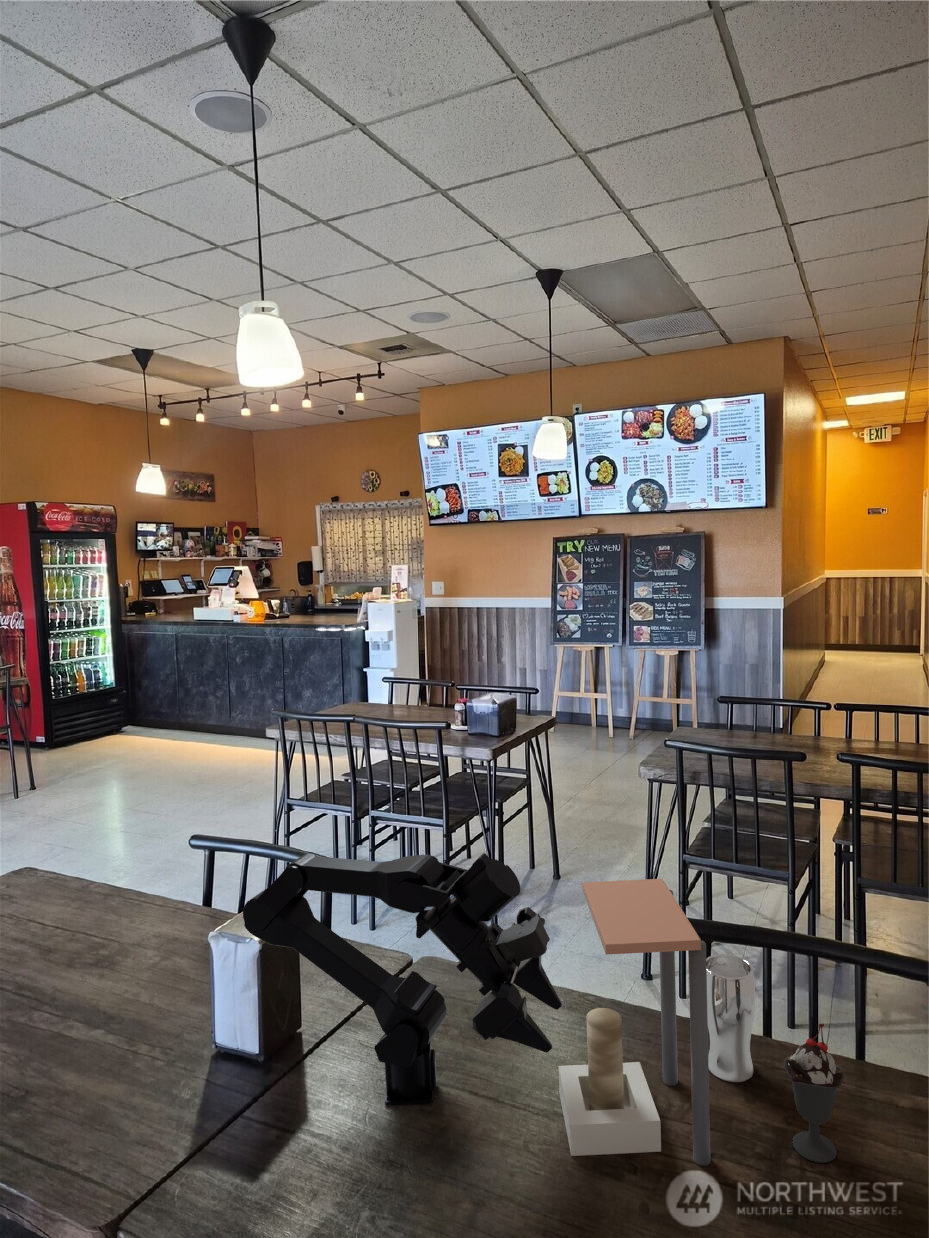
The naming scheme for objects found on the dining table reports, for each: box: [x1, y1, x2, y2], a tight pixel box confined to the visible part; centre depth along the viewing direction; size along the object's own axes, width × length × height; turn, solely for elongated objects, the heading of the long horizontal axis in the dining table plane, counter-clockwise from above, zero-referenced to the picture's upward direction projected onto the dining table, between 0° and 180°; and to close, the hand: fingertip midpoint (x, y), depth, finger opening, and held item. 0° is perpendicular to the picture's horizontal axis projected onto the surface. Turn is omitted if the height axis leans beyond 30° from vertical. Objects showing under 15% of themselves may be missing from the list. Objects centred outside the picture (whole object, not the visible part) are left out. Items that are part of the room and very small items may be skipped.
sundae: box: [783, 1023, 845, 1164], centre depth 94 cm, size 7×7×15 cm
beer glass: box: [706, 953, 756, 1083], centre depth 109 cm, size 7×7×15 cm
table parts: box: [558, 878, 711, 1167], centre depth 100 cm, size 16×17×28 cm
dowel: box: [585, 1007, 624, 1111], centre depth 100 cm, size 4×4×13 cm
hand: (555, 1027), depth 102 cm, fingers open, 9 cm apart
